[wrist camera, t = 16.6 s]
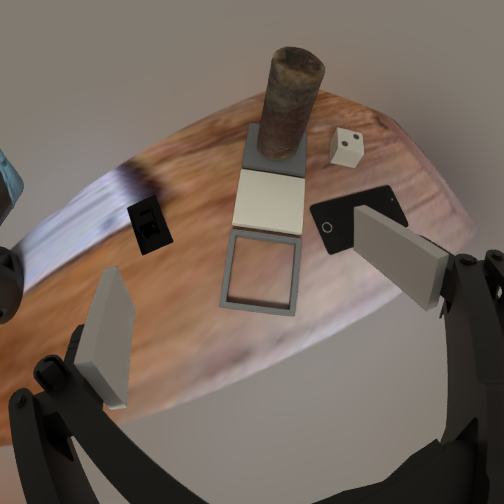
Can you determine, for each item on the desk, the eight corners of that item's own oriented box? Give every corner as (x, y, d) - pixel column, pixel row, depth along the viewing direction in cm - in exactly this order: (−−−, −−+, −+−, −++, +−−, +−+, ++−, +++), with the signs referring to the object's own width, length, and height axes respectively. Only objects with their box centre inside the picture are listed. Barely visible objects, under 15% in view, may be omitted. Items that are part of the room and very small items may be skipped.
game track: (219, 307, 42) (219, 306, 41) (249, 126, 52) (249, 122, 51) (293, 316, 43) (294, 315, 42) (305, 135, 53) (306, 131, 51)
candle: (287, 128, 51) (310, 44, 32) (305, 157, 50) (337, 74, 30) (250, 136, 50) (260, 48, 31) (266, 167, 48) (284, 79, 29)
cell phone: (308, 208, 48) (309, 206, 48) (387, 187, 51) (389, 184, 50) (328, 256, 46) (330, 254, 45) (407, 227, 49) (409, 225, 48)
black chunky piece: (181, 249, 45) (176, 239, 41) (140, 267, 44) (131, 259, 39) (157, 187, 48) (151, 173, 43) (120, 203, 47) (111, 191, 42)
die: (330, 163, 51) (338, 147, 46) (329, 142, 53) (337, 126, 48) (354, 168, 51) (364, 153, 46) (353, 148, 53) (362, 133, 48)
